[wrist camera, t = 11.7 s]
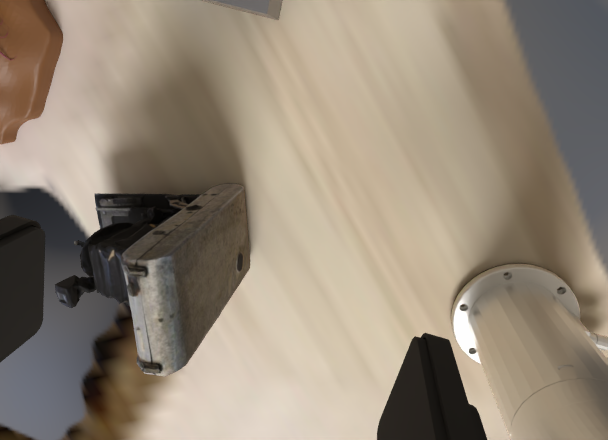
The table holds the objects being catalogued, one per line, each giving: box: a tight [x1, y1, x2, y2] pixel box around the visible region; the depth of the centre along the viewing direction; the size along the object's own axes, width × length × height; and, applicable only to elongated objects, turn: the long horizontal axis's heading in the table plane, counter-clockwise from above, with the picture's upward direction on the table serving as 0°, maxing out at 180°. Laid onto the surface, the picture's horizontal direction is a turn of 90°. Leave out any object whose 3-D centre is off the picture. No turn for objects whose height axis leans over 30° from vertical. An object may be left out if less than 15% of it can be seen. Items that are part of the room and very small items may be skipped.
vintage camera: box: [55, 184, 250, 377], centre depth 39 cm, size 10×15×20 cm, turn 92°
